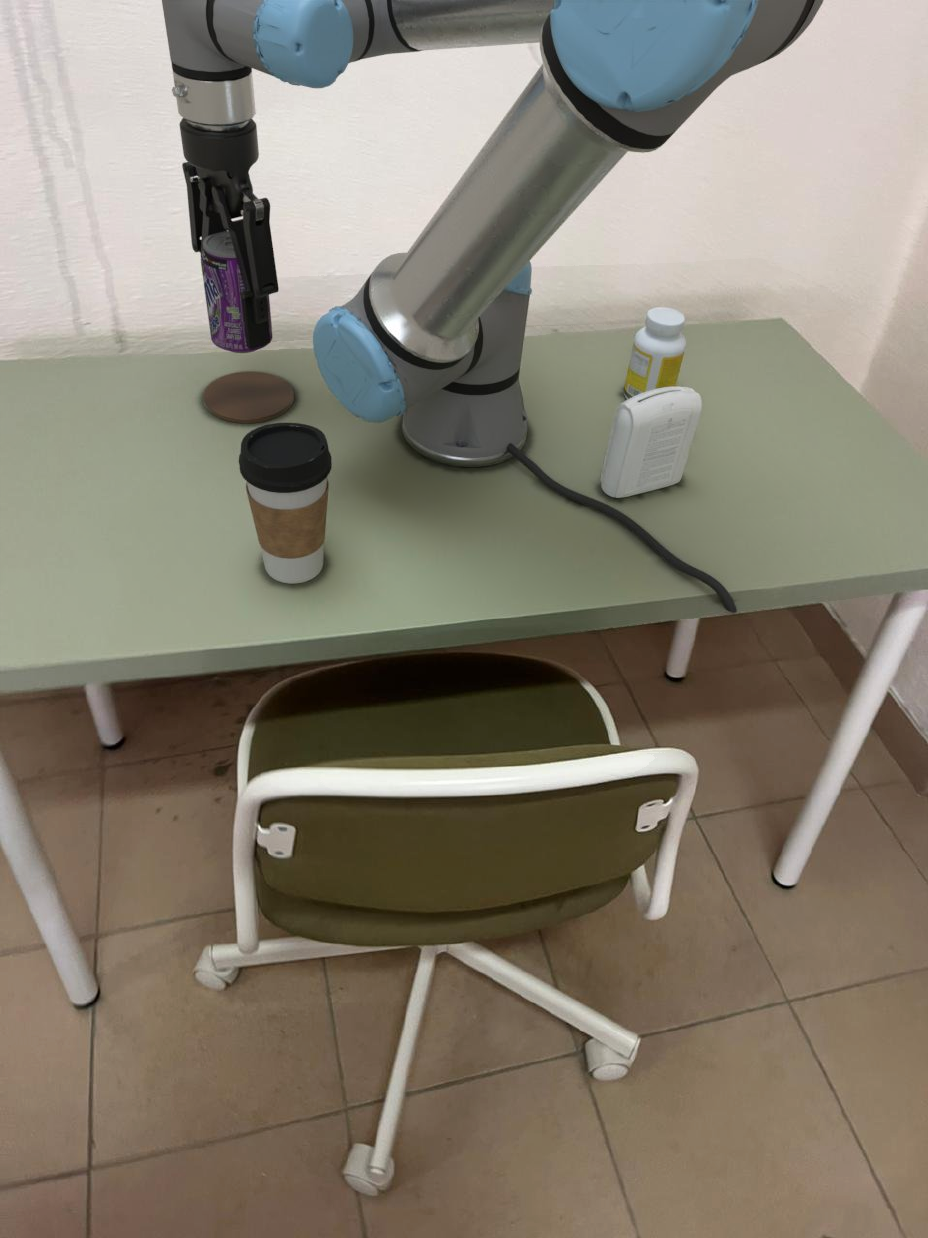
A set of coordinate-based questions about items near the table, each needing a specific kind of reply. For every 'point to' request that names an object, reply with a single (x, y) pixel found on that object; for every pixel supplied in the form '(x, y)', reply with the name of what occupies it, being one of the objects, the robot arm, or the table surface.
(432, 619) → the table surface
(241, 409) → the coaster
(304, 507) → the coffee cup
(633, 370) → the pill bottle
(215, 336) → the beverage can
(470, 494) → the table surface
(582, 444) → the table surface
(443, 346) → the robot arm
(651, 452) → the photo printer
